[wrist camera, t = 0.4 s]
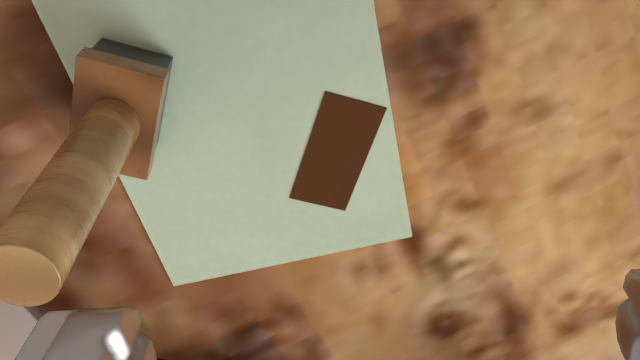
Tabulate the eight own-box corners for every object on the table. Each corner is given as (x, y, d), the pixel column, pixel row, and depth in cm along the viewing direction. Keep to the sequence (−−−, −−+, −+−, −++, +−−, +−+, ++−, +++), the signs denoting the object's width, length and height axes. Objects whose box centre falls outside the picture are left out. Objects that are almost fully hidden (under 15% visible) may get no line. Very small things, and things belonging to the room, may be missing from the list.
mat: (8, -54, 28) (3, -53, 27) (349, -142, 27) (350, -142, 26) (174, 282, 40) (173, 287, 40) (411, 233, 39) (412, 237, 39)
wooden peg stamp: (98, 32, 30) (-56, 186, 16) (177, 54, 31) (93, 217, 17) (87, 131, 33) (-50, 330, 20) (160, 149, 34) (77, 350, 20)
